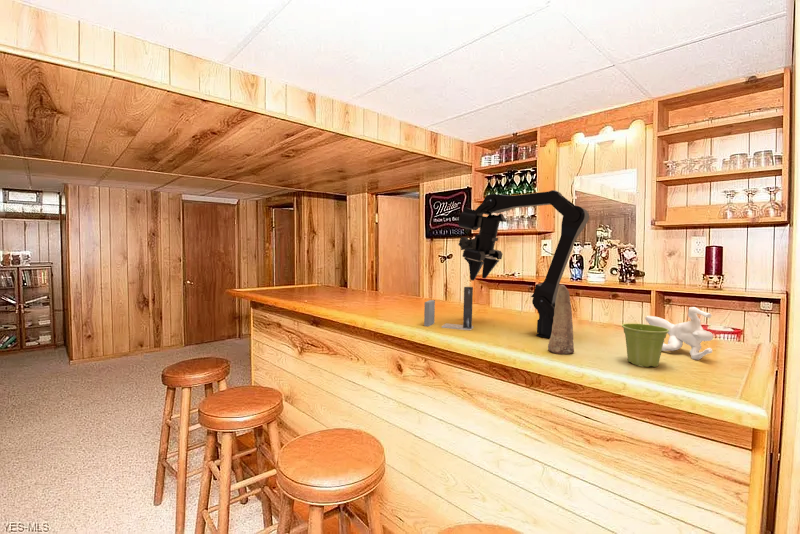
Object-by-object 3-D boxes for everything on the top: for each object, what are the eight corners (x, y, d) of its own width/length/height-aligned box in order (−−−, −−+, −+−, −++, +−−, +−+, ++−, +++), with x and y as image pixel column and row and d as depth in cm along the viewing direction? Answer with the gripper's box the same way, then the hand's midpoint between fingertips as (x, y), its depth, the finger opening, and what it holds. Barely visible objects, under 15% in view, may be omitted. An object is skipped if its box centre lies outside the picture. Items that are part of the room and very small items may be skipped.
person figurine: (629, 307, 109) (709, 304, 95) (648, 313, 116) (725, 311, 102) (631, 356, 106) (714, 360, 92) (650, 358, 113) (730, 363, 99)
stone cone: (543, 353, 103) (565, 359, 98) (541, 286, 100) (564, 289, 95) (557, 346, 107) (579, 352, 102) (556, 281, 104) (578, 284, 99)
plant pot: (624, 355, 100) (625, 321, 99) (669, 363, 94) (671, 327, 93) (616, 364, 92) (618, 327, 92) (664, 372, 86) (666, 333, 86)
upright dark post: (473, 327, 130) (474, 286, 130) (470, 330, 126) (471, 288, 125) (445, 324, 134) (446, 285, 133) (441, 327, 129) (442, 286, 129)
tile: (434, 323, 136) (434, 300, 136) (428, 326, 131) (429, 302, 130) (429, 322, 137) (429, 299, 136) (423, 326, 131) (424, 302, 131)
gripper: (477, 229, 141) (468, 271, 144) (453, 227, 126) (443, 274, 129) (507, 235, 135) (497, 279, 138) (484, 234, 120) (474, 284, 123)
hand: (478, 279), depth 132 cm, fingers open, 9 cm apart
